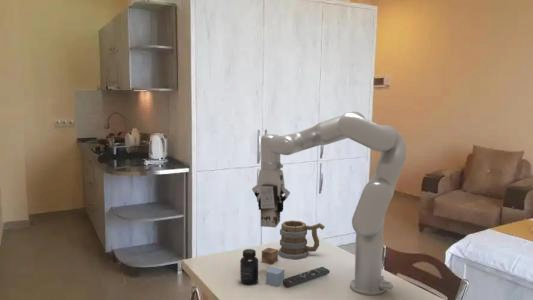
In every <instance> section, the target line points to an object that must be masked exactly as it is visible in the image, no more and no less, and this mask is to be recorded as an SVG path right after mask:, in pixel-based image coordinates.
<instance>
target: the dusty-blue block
mask: <svg viewBox="0 0 533 300" xmlns="http://www.w3.org/2000/svg"><path fill="white" fill-rule="evenodd" d="M283 280H284V281H285V269H284V268H283V269H282V268H278V267H273V266H272V267H271V268H269V269H268V270H266V271H265V284H266V285H268V286H272V287H275V288H279V287H280V286H282V285H283V284H282V282H283Z"/></svg>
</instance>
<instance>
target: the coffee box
mask: <svg viewBox="0 0 533 300" xmlns="http://www.w3.org/2000/svg"><path fill="white" fill-rule="evenodd" d="M278 202H279V201H278V200H277V186H274V185H261V210H260V227H262V228H263V227H264V228H265V227H266V228H277V227H278V225H279V223H280V222H281V212H280V213H278V212H277V203H278Z"/></svg>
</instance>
